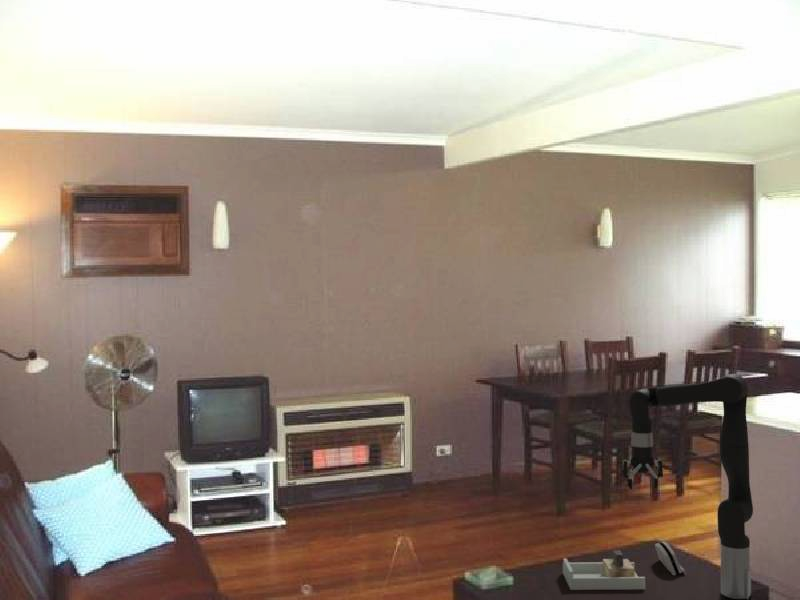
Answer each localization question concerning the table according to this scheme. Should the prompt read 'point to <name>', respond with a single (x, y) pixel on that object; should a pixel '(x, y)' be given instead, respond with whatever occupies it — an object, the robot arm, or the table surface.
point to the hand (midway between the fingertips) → (642, 488)
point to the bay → (597, 577)
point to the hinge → (668, 558)
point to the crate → (617, 566)
